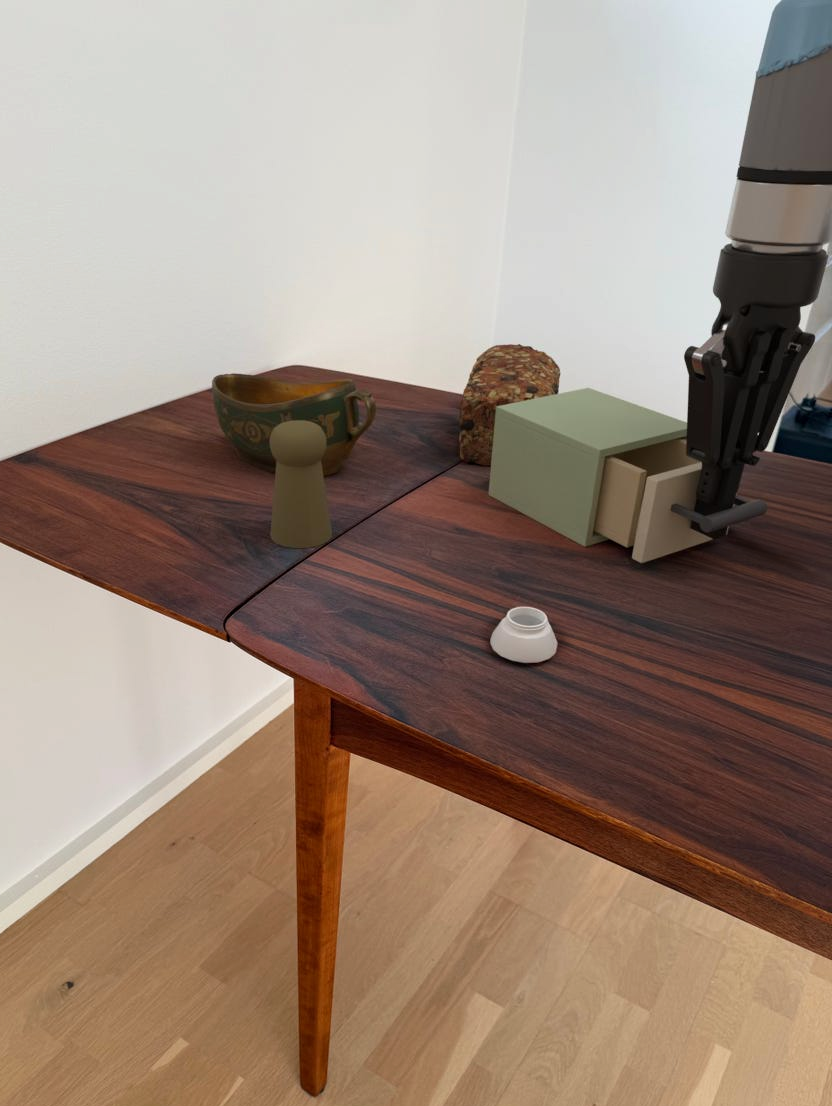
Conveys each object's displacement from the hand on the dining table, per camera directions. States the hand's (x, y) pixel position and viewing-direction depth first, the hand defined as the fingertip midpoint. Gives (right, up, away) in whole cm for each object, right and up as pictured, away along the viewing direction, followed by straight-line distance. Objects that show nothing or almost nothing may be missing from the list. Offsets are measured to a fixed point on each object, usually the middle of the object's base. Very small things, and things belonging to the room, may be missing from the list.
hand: (707, 531), depth 78 cm
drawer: (-3, +1, +6) cm, 7 cm away
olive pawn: (-37, 0, +7) cm, 37 cm away
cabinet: (-8, +4, +13) cm, 16 cm away
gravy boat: (-39, +11, +24) cm, 47 cm away
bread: (-13, +14, +29) cm, 35 cm away
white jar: (-18, -11, -10) cm, 24 cm away
